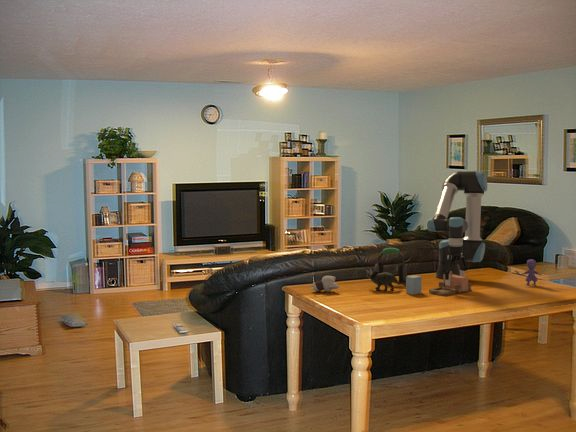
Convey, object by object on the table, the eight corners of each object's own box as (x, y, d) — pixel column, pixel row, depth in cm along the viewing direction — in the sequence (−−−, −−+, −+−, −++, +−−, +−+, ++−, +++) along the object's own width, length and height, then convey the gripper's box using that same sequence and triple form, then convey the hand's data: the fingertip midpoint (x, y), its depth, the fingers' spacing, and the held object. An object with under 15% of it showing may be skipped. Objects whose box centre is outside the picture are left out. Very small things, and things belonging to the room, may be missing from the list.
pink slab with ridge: (443, 287, 368) (443, 271, 368) (449, 286, 371) (449, 270, 370) (461, 291, 356) (461, 274, 356) (468, 290, 359) (468, 274, 358)
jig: (426, 292, 359) (426, 284, 358) (450, 287, 373) (450, 279, 372) (447, 296, 348) (447, 288, 348) (471, 290, 362) (471, 282, 362)
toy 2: (546, 284, 378) (546, 258, 376) (549, 286, 372) (549, 260, 371) (513, 284, 380) (513, 258, 378) (515, 286, 374) (516, 260, 373)
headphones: (407, 280, 395) (407, 247, 393) (407, 283, 384) (407, 249, 382) (375, 279, 398) (375, 246, 396) (374, 282, 388) (374, 249, 386)
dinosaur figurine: (405, 289, 367) (405, 269, 366) (402, 292, 359) (402, 272, 358) (366, 287, 374) (366, 267, 373) (363, 290, 366) (363, 270, 365)
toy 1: (314, 301, 358) (341, 295, 359) (312, 288, 354) (339, 281, 354) (310, 288, 369) (336, 282, 370) (307, 275, 365) (333, 269, 366)
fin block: (406, 293, 358) (406, 276, 357) (414, 291, 362) (414, 275, 361) (413, 294, 354) (413, 278, 353) (421, 292, 358) (421, 276, 358)
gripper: (447, 248, 351) (447, 287, 353) (474, 244, 367) (473, 281, 369) (436, 247, 357) (435, 285, 358) (463, 242, 373) (462, 279, 375)
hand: (455, 283), depth 364 cm, fingers open, 13 cm apart
